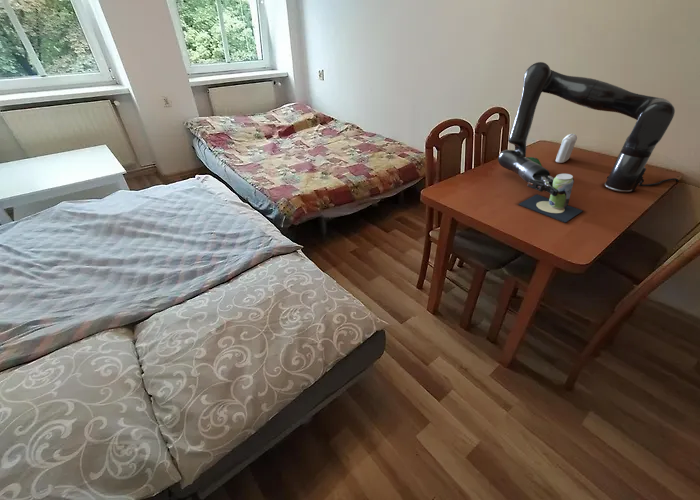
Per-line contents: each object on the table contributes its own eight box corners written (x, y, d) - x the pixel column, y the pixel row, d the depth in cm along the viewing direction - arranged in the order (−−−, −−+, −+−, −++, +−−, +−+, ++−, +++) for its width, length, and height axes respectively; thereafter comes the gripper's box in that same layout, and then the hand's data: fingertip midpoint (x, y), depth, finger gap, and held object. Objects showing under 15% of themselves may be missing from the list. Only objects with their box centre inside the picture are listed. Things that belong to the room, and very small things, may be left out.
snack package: (523, 177, 142) (527, 166, 139) (518, 164, 154) (521, 154, 151) (541, 179, 140) (545, 168, 137) (534, 166, 152) (538, 155, 149)
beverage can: (569, 210, 117) (583, 179, 110) (549, 210, 117) (562, 179, 110) (560, 202, 122) (573, 171, 115) (540, 202, 122) (552, 171, 115)
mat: (518, 204, 122) (518, 203, 121) (536, 195, 128) (536, 194, 128) (565, 223, 111) (565, 221, 110) (582, 211, 117) (583, 210, 117)
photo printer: (560, 156, 163) (570, 131, 155) (570, 158, 160) (580, 132, 153) (553, 161, 157) (562, 135, 150) (563, 164, 154) (573, 137, 147)
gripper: (519, 165, 124) (546, 184, 110) (553, 163, 125) (585, 182, 111) (513, 183, 128) (539, 204, 114) (546, 181, 129) (576, 201, 116)
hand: (561, 193), depth 113 cm, fingers closed on beverage can, 3 cm apart
